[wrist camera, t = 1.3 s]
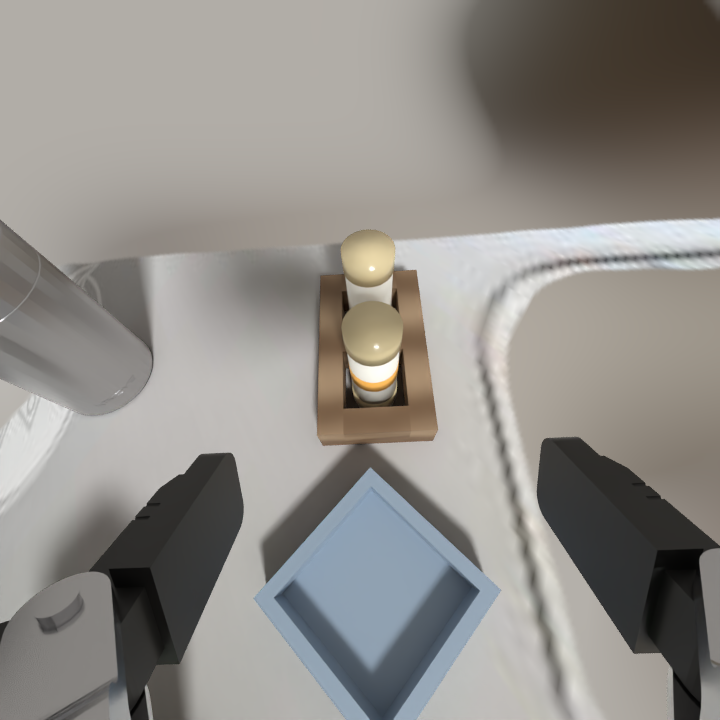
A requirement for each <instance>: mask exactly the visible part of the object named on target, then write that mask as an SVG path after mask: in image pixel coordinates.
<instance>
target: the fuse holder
mask: <svg viewBox="0 0 720 720" xmlns="http://www.w3.org/2000/svg"><path fill="white" fill-rule="evenodd" d="M391 306H392V307H393V308H396V311H397V312H398V313H399V314H400V316H401V318H402V321H403V334H402V343H401V348H400V351H399V364H398V365H401V371H402V381H403V391H404V402H405V406H392V407H372V408H351V409H346V368H349V362H348V355H347V352H346V350H345V346H344V341H343V335H342V328H341V327H342V321H343V318H344V316H345V311H349V310H350V309H349V302H348V294H347V286H346V279H345V275H344V274H340V275H323V276H321V280H320V326H319V373H318V419H317V436H318V438H319V439H320V441H321V443H322V445H323V446H327V445H348V444H370V443H392V442H414V441H433V439H434V437H435V435H436V433H437V431H438V426H437V419H436V411H435V404H434V397H433V389H432V382H431V374H430V367H429V360H428V352H427V345H426V338H425V330H424V323H423V315H422V308H421V301H420V293H419V286H418V279H417V271H416V270H406V271H394V272H393V279H392V301H391Z"/></svg>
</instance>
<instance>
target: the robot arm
mask: <svg viewBox="0 0 720 720" xmlns="http://www.w3.org/2000/svg"><path fill="white" fill-rule="evenodd" d="M151 370H152V355H151V352H150V350H149V348H148V346H147V345H146V344H145V343H144V342H143V341H142V340H141V339H139V338H138V337H137V336H136V335H135V334H134V333H132V332H131V331H130V330H129V329H128V328H127V327H125V326H124V325H123V324H122V323H121V322H120V321H119V320H117V319H116V318H115V317H114V316H113V315H112V314H110V313H109V312H108V311H107V310H106V309H105V308H103V307H102V306H101V305H100V304H99V303H98V302H96V301H95V300H94V299H93V298H92V297H91V296H89V295H88V294H87V293H86V292H85V291H84V290H82V289H81V288H80V287H79V286H78V285H76V284H75V283H74V282H73V281H72V280H71V279H69V278H68V277H67V276H66V275H65V274H64V273H62V272H61V271H60V270H59V269H58V268H57V267H55V266H54V265H53V264H52V263H51V262H50V261H48V260H47V259H46V258H45V257H44V256H43V255H41V254H40V253H39V252H38V251H37V250H35V249H34V248H33V247H32V246H31V245H29V244H28V243H27V242H26V241H25V240H23V239H22V238H21V237H20V236H19V235H17V234H16V233H15V232H14V231H13V230H12V229H11V228H9V227H8V226H7V225H6V224H5V223H4V222H2V221H1V220H0V379H2V380H4V381H6V382H8V383H11V384H13V385H15V386H18V387H20V388H22V389H25V390H27V391H29V392H31V393H34V394H36V395H38V396H40V397H43V398H45V399H47V400H49V401H52V402H54V403H56V404H58V405H61V406H63V407H65V408H68V409H70V410H72V411H75V412H77V413H80V414H82V415H90V416H95V415H103V414H106V413H110V412H113V411H115V410H117V409H119V408H121V407H123V406H124V405H126V404H127V403H129V402H130V401H131V400H132V399H133V398H134V397H135V396H137V395H138V394H139V392H140V391H141V390H142V389H143V387H144V386H145V384H146V382H147V380H148V379H149V376H150V373H151ZM537 499H538V504H539V507H540V510H541V512H542V515H543V516H544V518H545V520H546V521H547V523H548V524H549V526H550V527H551V529H552V530H553V532H554V533H555V535H556V536H557V538H558V539H559V541H560V542H561V544H562V545H563V547H564V548H565V550H566V551H567V553H568V554H569V556H570V557H571V559H572V560H573V562H574V564H575V565H576V567H577V568H578V570H579V571H580V573H581V574H582V576H583V577H584V579H585V580H586V582H587V583H588V585H589V586H590V588H591V589H592V591H593V592H594V594H595V595H596V597H597V599H598V600H599V602H600V603H601V605H602V606H603V607H604V609H605V611H606V612H607V614H608V615H609V617H610V618H611V620H612V621H613V623H614V624H615V626H616V627H617V629H618V630H619V632H620V633H621V635H622V637H623V638H624V640H625V641H626V642H627V644H628V645H629V647H630V649H631V650H632V651H633V653H634V654H638V653H662V655H663V656H664V658H665V659H666V660H667V662H668V663H669V665H670V667H669V671H668V676H667V720H720V546H719V545H718V544H717V543H716V542H715V541H713V540H712V539H711V538H710V537H709V536H708V535H706V534H705V533H704V532H703V531H701V530H700V529H699V528H698V527H697V526H696V525H694V524H693V523H692V522H691V521H690V520H689V519H687V518H686V517H685V516H684V515H683V514H681V513H680V512H679V511H678V510H677V509H675V508H674V507H673V506H672V505H671V504H670V503H668V502H667V501H666V500H665V499H661V497H660V495H659V494H658V493H657V492H655V491H654V490H653V489H652V488H651V487H650V486H646V485H645V482H644V481H642V480H641V479H640V478H639V477H638V476H637V475H635V474H634V473H633V472H632V471H631V470H629V469H628V468H627V467H625V466H623V465H621V464H619V463H617V462H615V461H613V460H611V459H609V458H607V457H605V456H600V455H598V453H596V452H595V451H594V450H593V449H592V448H591V447H590V446H589V445H587V444H586V443H585V442H584V441H583V440H582V439H581V438H579V437H561V438H546V439H544V440H543V442H542V445H541V454H540V463H539V474H538V484H537ZM243 511H244V506H243V498H242V493H241V488H240V483H239V478H238V472H237V467H236V462H235V458H234V456H233V454H232V453H213V454H201V455H199V456H198V457H197V459H196V460H195V461H194V462H193V464H192V465H191V466H190V467H189V469H188V470H187V471H186V472H185V474H182V475H178V476H176V477H175V478H174V479H172V480H171V481H169V482H168V483H166V484H165V485H164V486H162V487H161V488H160V489H159V490H158V491H157V492H156V493H155V494H154V496H153V497H152V498H151V499H150V500H149V501H148V503H147V506H146V507H143V508H142V510H141V511H140V512H139V513H138V514H137V515H136V517H135V520H132V521H131V523H130V524H129V525H128V526H127V527H126V528H125V530H124V531H123V532H122V533H121V534H120V535H119V537H118V538H117V539H116V540H115V541H114V542H113V544H112V545H111V546H110V547H109V548H108V549H107V551H106V552H105V553H104V554H103V555H102V556H101V558H100V559H99V560H98V561H97V562H96V564H95V565H94V566H93V567H92V568H91V569H90V571H89V572H84V573H79V574H76V575H72V576H70V577H67V578H65V579H62V580H60V581H58V582H56V583H54V584H52V585H51V586H49V587H47V588H45V589H44V590H42V591H41V592H39V593H38V594H36V595H35V596H34V597H33V598H31V599H30V600H29V601H28V602H27V603H25V604H24V605H23V606H22V607H21V608H20V609H19V610H18V611H17V612H16V614H15V615H14V616H13V617H12V619H11V620H10V621H6V622H3V623H0V720H153V714H152V707H151V700H150V693H149V690H148V686H147V682H148V680H149V678H150V676H151V674H152V672H153V670H154V668H155V666H156V665H161V664H180V662H181V659H182V657H183V655H184V653H185V650H186V648H187V646H188V644H189V642H190V639H191V637H192V635H193V633H194V630H195V628H196V626H197V624H198V621H199V619H200V617H201V615H202V612H203V610H204V608H205V606H206V604H207V601H208V599H209V597H210V595H211V592H212V590H213V588H214V586H215V583H216V581H217V579H218V577H219V574H220V572H221V570H222V568H223V565H224V563H225V561H226V559H227V557H228V554H229V552H230V550H231V548H232V545H233V543H234V541H235V539H236V536H237V534H238V532H239V530H240V527H241V524H242V520H243Z"/></svg>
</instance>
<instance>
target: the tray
mask: <svg viewBox="0 0 720 720" xmlns="http://www.w3.org/2000/svg"><path fill="white" fill-rule="evenodd" d="M500 591H501V589H499V588H498V587H497V586H496V585H495V584H494V583H493V582H492V581H491V580H490V579H489V578H488V577H487V576H486V575H485V574H483V573H482V572H481V571H480V570H479V569H478V568H477V567H476V566H475V565H474V564H473V563H472V562H471V561H470V560H469V559H467V558H466V557H465V556H464V555H463V554H462V553H461V552H460V551H459V550H458V549H457V548H456V547H455V546H454V545H453V544H452V543H450V542H449V541H448V540H447V539H446V538H445V537H444V536H443V535H442V534H441V533H440V532H439V531H438V530H437V529H436V528H434V527H433V526H432V525H431V524H430V523H429V522H428V521H427V520H426V519H425V518H424V517H423V516H422V515H421V514H420V513H418V512H417V511H416V510H415V509H414V508H413V507H412V506H411V505H410V504H409V503H408V502H407V501H406V500H405V499H404V498H402V497H401V496H400V495H399V494H398V493H397V492H396V491H395V490H394V489H393V488H392V487H391V486H390V485H389V484H388V483H386V482H385V481H384V480H383V479H382V478H381V477H380V476H379V475H378V474H377V473H376V472H375V471H374V470H373V469H372V468H369V469H368V470H367V472H366V473H365V474H364V475H363V476H362V477H361V478H360V479H359V481H358V482H357V483H356V484H355V485H354V486H353V487H352V488H351V490H350V491H349V492H348V493H347V494H346V495H345V496H344V497H343V498H342V500H341V501H340V502H339V503H338V504H337V505H336V506H335V507H334V509H333V510H332V511H331V512H330V513H329V514H328V515H327V516H326V518H325V519H324V520H323V521H322V522H321V523H320V524H319V525H318V527H317V528H316V529H315V530H314V531H313V532H312V533H311V534H310V536H309V537H308V538H307V539H306V540H305V541H304V542H303V543H302V544H301V546H300V547H299V548H298V549H297V550H296V551H295V552H294V553H293V555H292V556H291V557H290V558H289V559H288V560H287V561H286V562H285V564H284V565H283V566H282V567H281V568H280V569H279V570H278V571H277V573H276V574H275V575H274V576H273V577H272V578H271V579H270V580H269V581H268V583H267V584H266V585H265V586H264V587H263V588H262V589H261V590H260V592H259V593H258V594H257V595H256V596H255V597H254V598H253V599H254V600H255V601H256V603H257V604H258V605H259V606H260V608H261V609H262V610H263V612H264V613H265V614H266V616H267V617H268V618H269V620H270V621H271V622H272V623H273V625H274V626H275V627H276V629H277V630H278V631H279V633H280V634H281V635H282V637H283V638H284V639H285V640H286V642H287V643H288V644H289V646H290V647H291V648H292V650H293V651H294V652H295V653H296V655H297V656H298V657H299V659H300V660H301V661H302V663H303V664H304V665H305V667H306V668H307V669H308V670H309V672H310V673H311V674H312V676H313V677H314V678H315V680H316V681H317V682H318V684H319V685H320V686H321V687H322V689H323V690H324V691H325V693H326V694H327V695H328V697H329V698H330V699H331V701H332V702H333V703H334V704H335V706H336V707H337V708H338V710H339V711H340V712H341V714H342V715H343V716H344V718H345V719H346V720H416V719H417V718H418V716H419V715H420V713H421V712H422V710H423V709H424V707H425V706H426V704H427V703H428V701H429V700H430V698H431V697H432V695H433V694H434V692H435V690H436V689H437V687H438V686H439V684H440V683H441V681H442V680H443V678H444V677H445V675H446V674H447V672H448V671H449V669H450V668H451V666H452V665H453V663H454V661H455V660H456V658H457V657H458V655H459V654H460V652H461V651H462V649H463V648H464V646H465V645H466V643H467V642H468V640H469V639H470V637H471V636H472V634H473V633H474V631H475V629H476V628H477V626H478V625H479V623H480V622H481V620H482V619H483V617H484V616H485V614H486V613H487V611H488V610H489V608H490V607H491V605H492V604H493V602H494V600H495V599H496V597H497V596H498V594H499V593H500Z"/></svg>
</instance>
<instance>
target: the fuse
mask: <svg viewBox="0 0 720 720" xmlns="http://www.w3.org/2000/svg"><path fill="white" fill-rule="evenodd" d="M341 258H342V266H343V272H344V275H345V279H346V286H347V294H348V302H349V309H351V308H352V307H354V306H355V305H357V304H359V303H362V302H366V301H379V302H383V303H386V304H388V305H390V306H391V301H392V279H393V272H394V262H395V245H394V242H393V241H392V239H391V238H390V237H389V236H388V235H386V234H385V233H383V232H380V231H377V230H361V231H358V232H355V233H353V234H351V235H350V236H348V237H347V238H346V239H345V240H344V242H343V243H342V246H341Z"/></svg>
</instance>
